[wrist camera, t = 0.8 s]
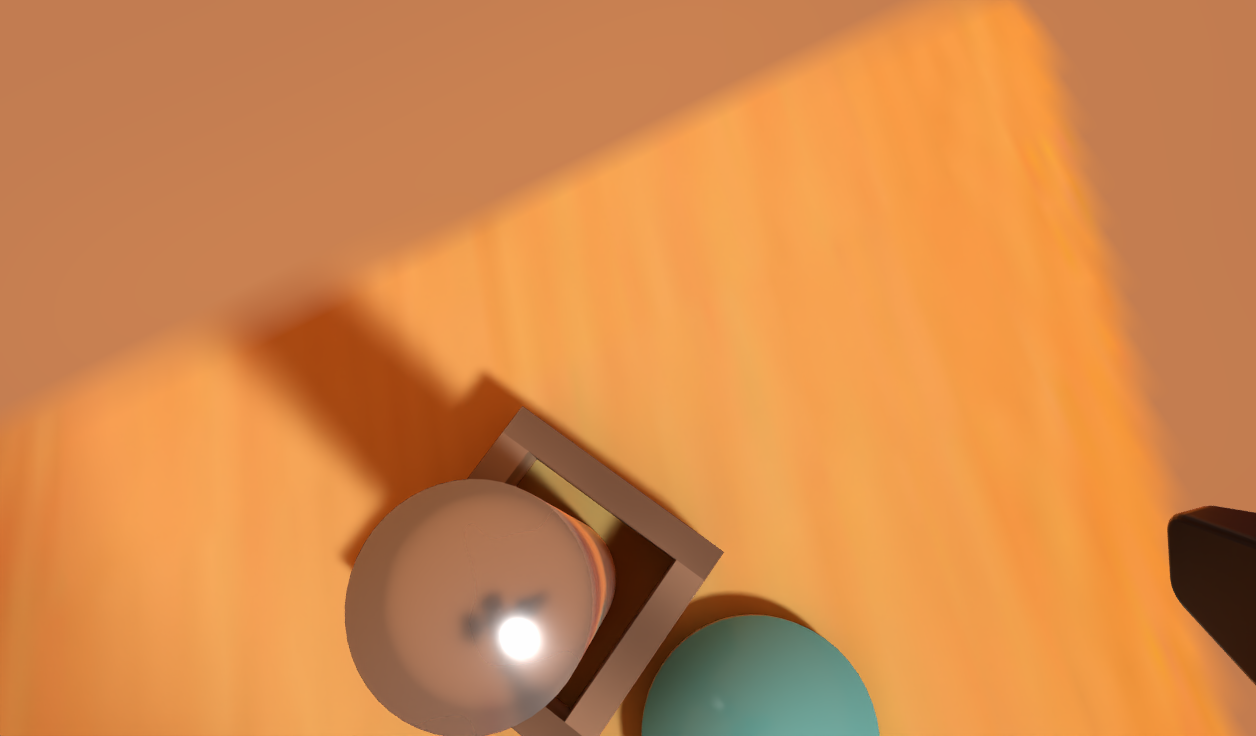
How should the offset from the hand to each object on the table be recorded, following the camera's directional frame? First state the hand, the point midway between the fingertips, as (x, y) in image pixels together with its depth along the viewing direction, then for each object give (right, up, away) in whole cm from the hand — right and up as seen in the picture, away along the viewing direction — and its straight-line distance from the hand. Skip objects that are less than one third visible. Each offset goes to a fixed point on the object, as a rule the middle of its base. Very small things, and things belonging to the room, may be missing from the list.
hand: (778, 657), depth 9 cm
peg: (-4, -4, +17) cm, 18 cm away
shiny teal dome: (+2, -8, +16) cm, 18 cm away
